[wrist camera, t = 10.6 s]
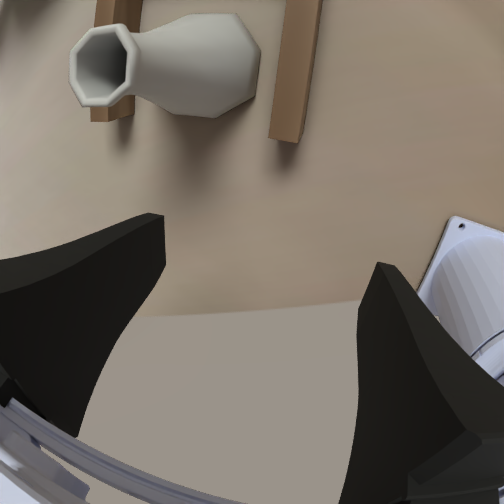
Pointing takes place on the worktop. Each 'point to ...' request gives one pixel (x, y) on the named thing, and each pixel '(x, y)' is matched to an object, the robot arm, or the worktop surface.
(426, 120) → the worktop surface
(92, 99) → the flask
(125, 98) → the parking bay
